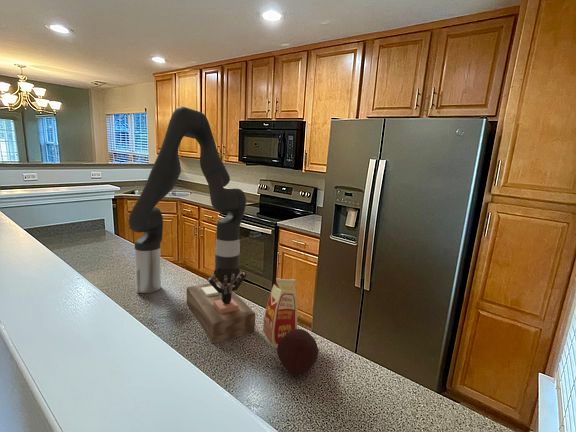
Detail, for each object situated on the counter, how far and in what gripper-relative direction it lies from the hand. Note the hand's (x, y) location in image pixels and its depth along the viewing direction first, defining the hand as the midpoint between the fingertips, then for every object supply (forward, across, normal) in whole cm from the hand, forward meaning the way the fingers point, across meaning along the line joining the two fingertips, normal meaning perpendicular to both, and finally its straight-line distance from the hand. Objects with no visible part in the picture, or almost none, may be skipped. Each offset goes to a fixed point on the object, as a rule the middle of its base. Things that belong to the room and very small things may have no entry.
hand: (226, 303), depth 102 cm
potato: (+8, -9, +28) cm, 31 cm away
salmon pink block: (+4, 0, 0) cm, 4 cm away
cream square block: (+5, 0, -13) cm, 14 cm away
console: (+8, 0, -7) cm, 10 cm away
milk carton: (+8, -13, +14) cm, 20 cm away
